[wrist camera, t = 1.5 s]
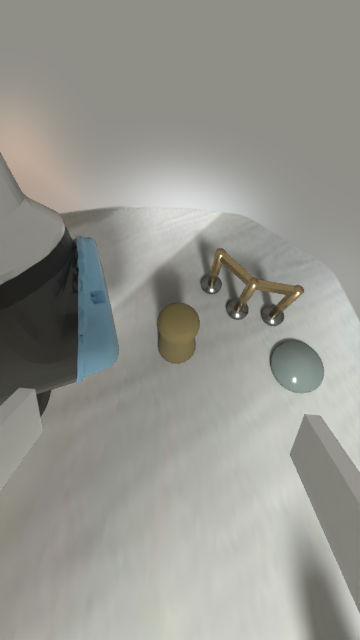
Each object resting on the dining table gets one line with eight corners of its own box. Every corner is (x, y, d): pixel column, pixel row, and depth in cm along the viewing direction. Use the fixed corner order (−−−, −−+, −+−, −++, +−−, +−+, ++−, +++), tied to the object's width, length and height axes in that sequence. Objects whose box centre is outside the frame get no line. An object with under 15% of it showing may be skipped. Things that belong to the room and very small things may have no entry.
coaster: (269, 387, 35) (271, 387, 34) (271, 338, 38) (272, 336, 37) (323, 397, 35) (325, 397, 34) (320, 346, 38) (322, 345, 37)
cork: (152, 335, 38) (145, 305, 27) (186, 321, 39) (191, 288, 28) (166, 369, 35) (164, 351, 25) (202, 354, 37) (213, 330, 26)
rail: (196, 312, 39) (202, 284, 31) (202, 274, 42) (210, 240, 34) (282, 327, 39) (312, 303, 30) (282, 288, 42) (310, 257, 33)
